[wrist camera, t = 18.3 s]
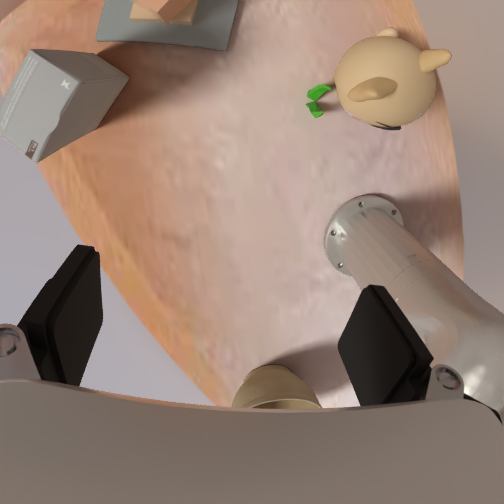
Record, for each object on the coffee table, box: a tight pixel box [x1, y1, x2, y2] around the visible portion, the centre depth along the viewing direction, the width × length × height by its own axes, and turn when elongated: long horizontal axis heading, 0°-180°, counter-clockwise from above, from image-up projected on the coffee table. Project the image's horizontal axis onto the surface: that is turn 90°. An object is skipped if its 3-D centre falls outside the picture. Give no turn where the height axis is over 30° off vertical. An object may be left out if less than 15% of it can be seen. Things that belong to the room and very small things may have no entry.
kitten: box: [306, 27, 452, 130], centre depth 28 cm, size 15×10×15 cm
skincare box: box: [0, 49, 130, 163], centre depth 25 cm, size 8×7×16 cm
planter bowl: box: [232, 365, 322, 409], centre depth 53 cm, size 16×16×11 cm
